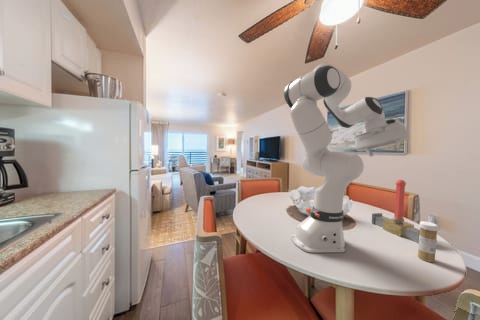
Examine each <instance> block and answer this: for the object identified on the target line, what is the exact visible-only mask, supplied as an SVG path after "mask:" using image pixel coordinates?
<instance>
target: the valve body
mask: <svg viewBox="0 0 480 320" xmlns="http://www.w3.org/2000/svg"><path fill="white" fill-rule="evenodd" d="M371 224H372V225H376V226H378V227H380V228H382V230H384V231H386V232H388V233H391V234H393V235H395V236H398V237H400V238H402V237H404V238H406V239H408V240H410V241H412V242H413V241H414V242H415V243H417V244H418V245H419V235H420V228H417V227H415V225H414V224H413V223H409V222H407V221H405V220H404V221H403V222H394V221H393V218H389V217H387V216H384V215H383V213H382V212H374V213H371Z"/></svg>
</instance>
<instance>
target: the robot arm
mask: <svg viewBox="0 0 480 320" xmlns="http://www.w3.org/2000/svg"><path fill="white" fill-rule="evenodd" d="M351 89H352V81H351V79H350V77H349V76H348V75H347V74H346V72H345V73H344V72H343V71H342V70H341V69H339V68H338V67H337V66H334V65H332V64H330V63H327V62H323V63H320V64H318V65H317V66H316V67H314V69H313V70H311V71H310V72H308V73H304V74H302V75H300V76H299V77H297V78H296V79H294V80H291V81H290V82H289V83H288V84H287V85H286V86H285V87H284V90H283V96H284V101H285V102H286V104H287V106H288V107H289V108H290V111H289V112H290V117H291V122H292V124H293V126H294V129H295V131H296V133H297V135H298V136H299V138H300V141H301V142H302V145H303V148H304V149H305V155H304V157H303V159H302V168H303V169H304V170H305V172H307V173H309V174H311V175H313V176H319V177H324V182H323V184H322V185H320V186H318V187H317V188H316V189H315V190H314V198H313V199H314V203H313V205H314V206H312V209H311V208H309V207H306V208H305V211H306V213H308V214H309V216H307V217H306V218H305V219H304V220H302V221H301V222H300V223H298V224H297V226H296V229H295V232H294V233H291V234H290V240H291V241H292V242H293V244H294V245H296V246H297V247H298V248H299V249H300V250H302V251H304V252H306V253H345V251H346V249H345V247H346V240H345V237H344V229H343V220H344V209H343V204H344V195H345V192H346V189H347V187H348V186H349V185H350V184H351V182H353V181H354V180H356V179H358V178H359V177H360V176H361V175H362V174H363V172H364V168H365V166H364V161H363V159H362V157H361V156H360V155H358V154H356V153H352V152H348V151H347V152H346V151H330V150H328V148H327V147H328V146H329V145H330V143H331V142H332V139H333V134H332V132H331V130H330V128H329V125H328V123H327V121H326V119H325V116H324V114H323V113H322V112H321V110H320V108H319V107H318V103H317V102H318V101H320V100H322V101H323V104H324V107H325V109H326V110H327V111H328V112H329V113H330V114H331V116H332V117H334V119H335V120H336V122H337V123H338V124H339V125H340V126H341V127H342V128H345V129H350V128H351V127H353V126H355V125H357V124H359V123H361V122H363V123H364V129H365V132H364V133H361V134H357V135H356V136H355V137H354V138H353V142H354V144H355V145H354V146H355V149H356V151H357V152H364V151H365V152H366V153H367V154H368V156H369V157H373V156H374V153H373V151H372V150H373V149H377V148H381V147H384V146H388V145H392V144H395V145H393V149H394V151H395V152H396V151H400V145H401V142H403V141H407V140H409V139H410V133H409V132H408V129H407V128H406V126H405V125H404V124H402V123H401V121H400V119H399V118H392V119H386V117H385V112H384V110H383V106H382V104H381V102H380V100H378V99H377V98H375V97H372V96H365V97H363V98H362V99H359V100H358V101H357V102H355V103H353V104H351V105H350V106H347V107H346V108H343V109H342V108H340V107H339V105H340V104H341V103H342V102H343V101H345V100H346V99H347V97H348V96H349V94H350V92H351ZM370 150H371V151H370Z"/></svg>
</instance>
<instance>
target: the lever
mask: <svg viewBox="0 0 480 320" xmlns="http://www.w3.org/2000/svg"><path fill="white" fill-rule="evenodd" d="M395 185H396V187H395V200H394V201H395V202H394V204H395V205H394V217H393V218H392V219H393V221H394V222H403V221H405V218H404V205H405V189H406V185H407V183H406V181H405V180H404V179H398V180H396V182H395Z"/></svg>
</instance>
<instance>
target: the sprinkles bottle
mask: <svg viewBox="0 0 480 320" xmlns="http://www.w3.org/2000/svg"><path fill="white" fill-rule="evenodd" d="M419 229H420V235H419V244H418V246H417V247H418V252H417V257H418V258H419V259H421V260H422V261H425V262H428V263H436V253H437V235H438V231H439V225H438V224H436V223H434V222H430V221H423V220H422V221H419Z"/></svg>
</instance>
